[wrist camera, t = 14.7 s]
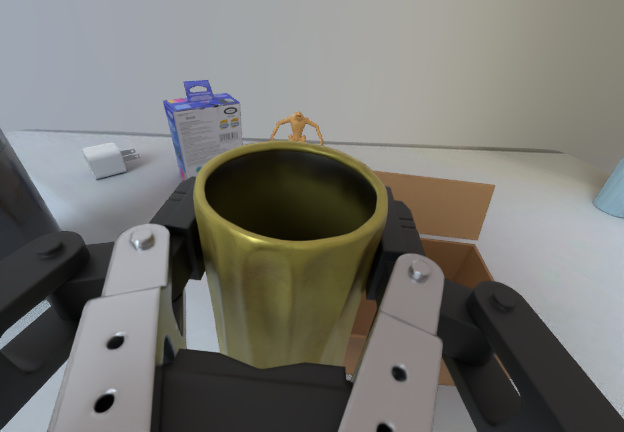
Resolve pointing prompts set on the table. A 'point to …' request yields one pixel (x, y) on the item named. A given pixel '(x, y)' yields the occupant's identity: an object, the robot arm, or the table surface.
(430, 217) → the flap
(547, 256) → the table surface
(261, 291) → the vase
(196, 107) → the ink cartridge box
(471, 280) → the carton
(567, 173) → the table surface
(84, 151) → the usb wall charger
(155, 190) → the table surface
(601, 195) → the cup
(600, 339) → the table surface
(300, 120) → the figurine
